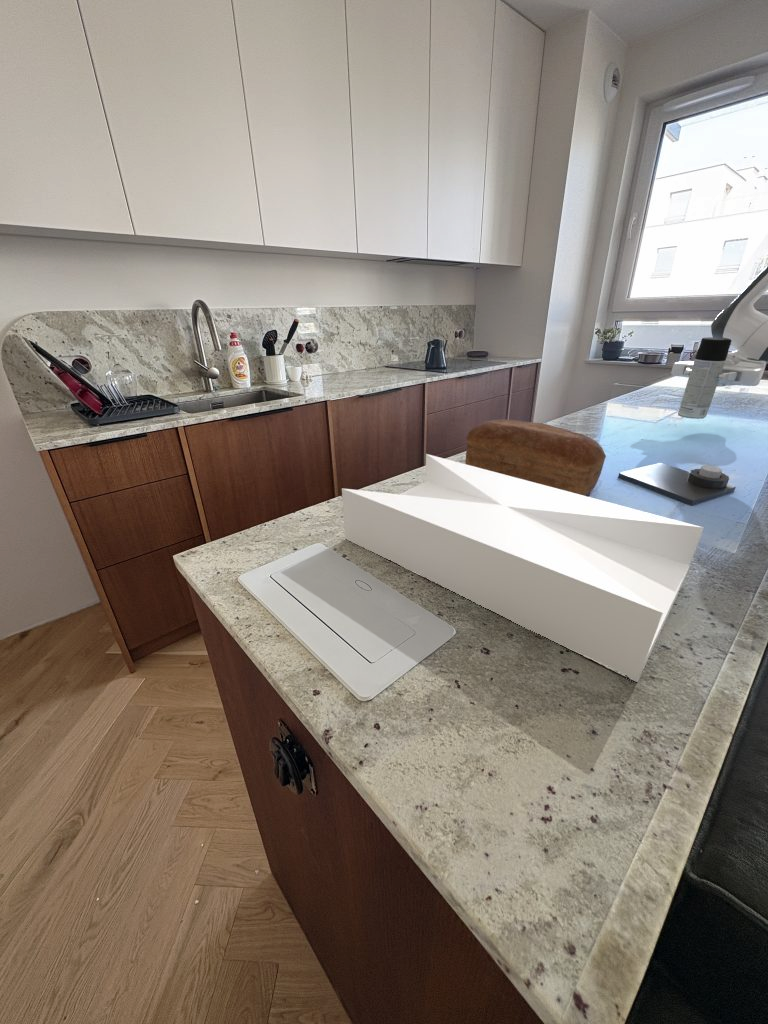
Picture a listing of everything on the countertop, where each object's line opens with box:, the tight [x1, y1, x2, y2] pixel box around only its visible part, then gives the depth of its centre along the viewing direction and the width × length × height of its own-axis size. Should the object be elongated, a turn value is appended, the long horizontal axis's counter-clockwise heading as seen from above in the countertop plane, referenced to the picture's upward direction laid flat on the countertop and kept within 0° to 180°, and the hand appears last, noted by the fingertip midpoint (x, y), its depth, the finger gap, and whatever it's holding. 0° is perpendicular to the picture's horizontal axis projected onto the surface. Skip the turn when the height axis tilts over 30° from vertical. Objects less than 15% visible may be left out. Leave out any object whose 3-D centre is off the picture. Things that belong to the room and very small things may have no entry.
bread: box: [465, 418, 607, 496], centre depth 90 cm, size 14×28×12 cm, turn 46°
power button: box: [699, 465, 723, 479], centre depth 86 cm, size 4×4×2 cm
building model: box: [341, 453, 705, 683], centre depth 63 cm, size 45×22×10 cm, turn 47°
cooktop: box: [617, 462, 737, 507], centre depth 89 cm, size 16×14×3 cm
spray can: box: [677, 336, 732, 420], centre depth 111 cm, size 7×7×20 cm
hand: (703, 375), depth 111 cm, fingers closed on spray can, 6 cm apart
